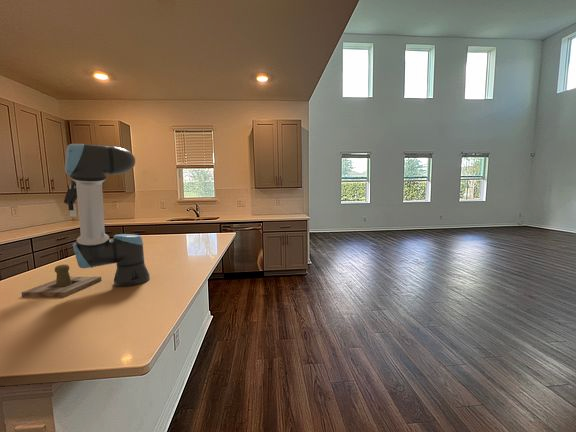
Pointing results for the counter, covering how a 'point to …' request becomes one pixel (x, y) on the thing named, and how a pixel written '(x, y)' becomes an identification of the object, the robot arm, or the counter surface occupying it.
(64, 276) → the olive tapered block
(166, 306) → the counter surface
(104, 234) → the robot arm
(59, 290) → the walnut board
